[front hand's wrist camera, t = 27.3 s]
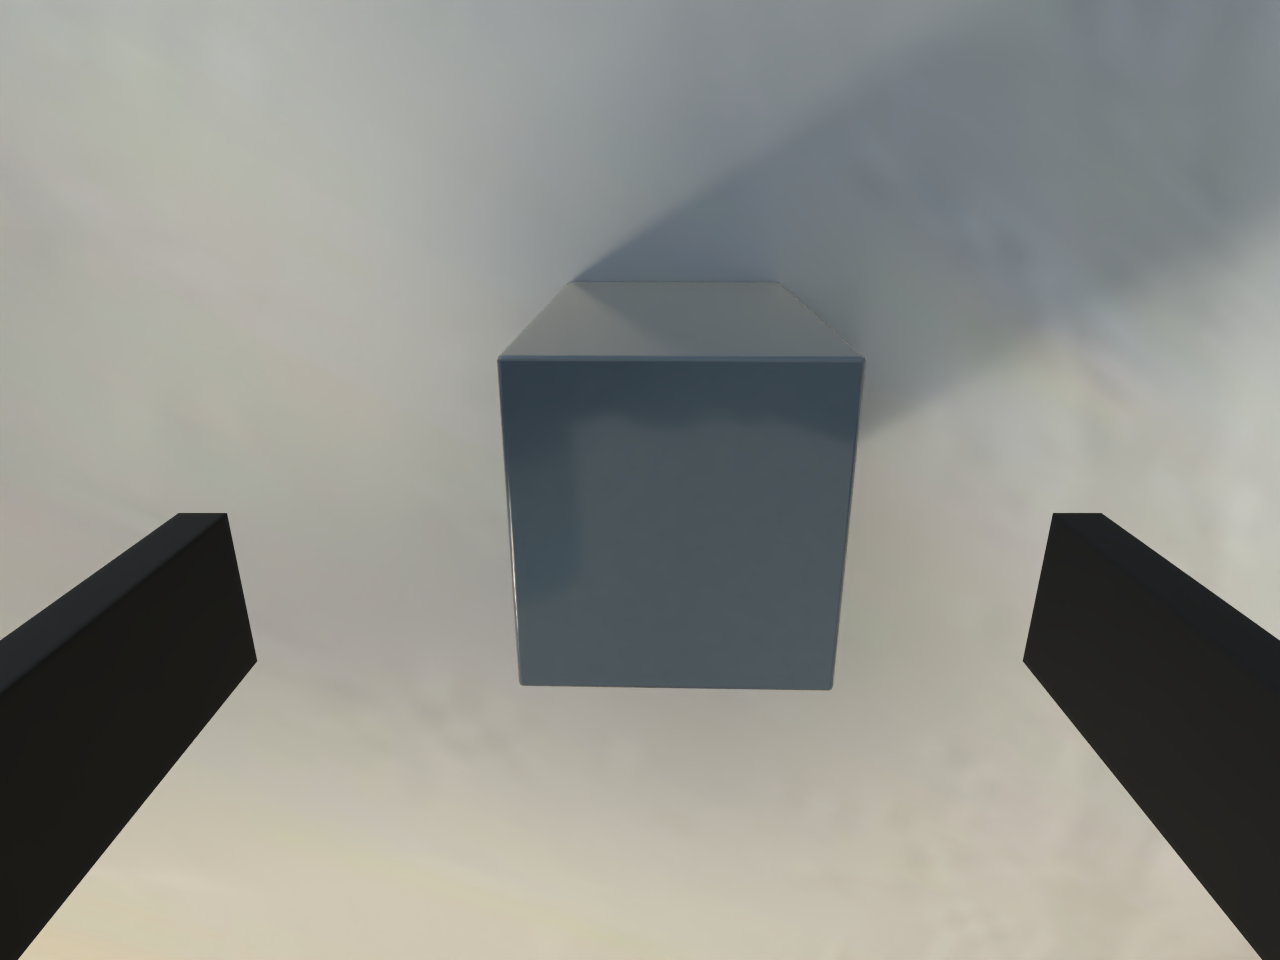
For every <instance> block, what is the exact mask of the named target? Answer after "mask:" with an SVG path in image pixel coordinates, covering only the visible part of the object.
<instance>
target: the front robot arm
mask: <svg viewBox="0 0 1280 960" xmlns="http://www.w3.org/2000/svg"><path fill="white" fill-rule="evenodd" d="M256 662H257V658H256V653H255V648H254V643H253V638H252V633H251V629H250V624H249V619H248V614H247V609H246V604H245V599H244V594H243V589H242V585H241V580H240V575H239V570H238V565H237V560H236V555H235V550H234V546H233V541H232V536H231V531H230V526H229V521H228V516H227V513H178V514H177V515H175V516H174V517H173V518H171V519H170V520H168V521H167V522H166V523H164V524H163V525H161V526H160V527H159V528H157V529H156V530H154V531H153V532H152V533H150V534H149V535H147V536H146V537H145V538H143V539H142V540H140V541H139V542H138V543H136V544H135V545H133V546H132V547H131V548H129V549H128V550H126V551H125V552H124V553H122V554H121V555H119V556H118V557H117V558H115V559H114V560H112V561H111V562H110V563H108V564H107V565H105V566H104V567H103V568H101V569H100V570H98V571H97V572H96V573H94V574H93V575H91V576H90V577H89V578H87V579H86V580H84V581H83V582H82V583H80V584H79V585H77V586H76V587H75V588H73V589H72V590H70V591H69V592H68V593H66V594H65V595H63V596H62V597H61V598H59V599H58V600H56V601H55V602H54V603H52V604H51V605H49V606H48V607H47V608H45V609H44V610H42V611H41V612H40V613H38V614H37V615H35V616H34V617H33V618H31V619H30V620H28V621H27V622H26V623H24V624H23V625H21V626H20V627H19V628H17V629H16V630H14V631H13V632H12V633H10V634H9V635H7V636H6V637H5V638H3V639H2V640H0V960H18V959H19V957H20V956H21V955H22V954H23V952H24V951H25V950H26V949H27V947H28V946H29V945H30V944H31V942H32V941H33V940H34V939H35V938H36V936H37V935H38V934H39V933H40V931H41V930H42V929H43V928H44V926H45V925H46V924H47V923H48V921H49V920H50V919H51V918H52V916H53V915H54V914H55V913H56V911H57V910H58V909H59V908H60V906H61V905H62V904H63V903H64V901H65V900H66V899H67V898H68V896H69V895H70V894H71V893H72V891H73V890H74V889H75V888H76V886H77V885H78V884H79V883H80V881H81V880H82V879H83V878H84V876H85V875H86V874H87V873H88V871H89V870H90V869H91V868H92V866H93V865H94V864H95V863H96V861H97V860H98V859H99V858H100V856H101V855H102V854H103V853H104V851H105V850H106V849H107V848H108V846H109V845H110V844H111V843H112V841H113V840H114V839H115V838H116V837H117V835H118V834H119V833H120V832H121V830H122V829H123V828H124V827H125V825H126V824H127V823H128V822H129V820H130V819H131V818H132V817H133V815H134V814H135V813H136V812H137V810H138V809H139V808H140V807H141V805H142V804H143V803H144V802H145V800H146V799H147V798H148V797H149V795H150V794H151V793H152V792H153V790H154V789H155V788H156V787H157V785H158V784H159V783H160V782H161V780H162V779H163V778H164V777H165V775H166V774H167V773H168V772H169V770H170V769H171V768H172V767H173V765H174V764H175V763H176V762H177V760H178V759H179V758H180V757H181V755H182V754H183V753H184V752H185V750H186V749H187V748H188V747H189V745H190V744H191V743H192V742H193V740H194V739H195V738H196V737H197V736H198V734H199V733H200V732H201V731H202V729H203V728H204V727H205V726H206V724H207V723H208V722H209V721H210V719H211V718H212V717H213V716H214V714H215V713H216V712H217V711H218V709H219V708H220V707H221V706H222V704H223V703H224V702H225V701H226V699H227V698H228V697H229V696H230V694H231V693H232V692H233V691H234V689H235V688H236V687H237V686H238V684H239V683H240V682H241V681H242V679H243V678H244V677H245V676H246V674H247V673H248V672H249V671H250V669H251V668H252V667H253V666H254V664H255V663H256ZM1023 662H1024V663H1025V664H1026V666H1027V667H1028V668H1029V669H1030V671H1031V672H1032V673H1033V674H1034V676H1035V677H1036V678H1037V679H1038V681H1039V682H1040V683H1041V684H1042V686H1043V687H1044V688H1045V689H1046V691H1047V692H1048V693H1049V694H1050V696H1051V697H1052V698H1053V699H1054V701H1055V702H1056V703H1057V704H1058V706H1059V707H1060V708H1061V709H1062V711H1063V712H1064V713H1065V714H1066V716H1067V717H1068V718H1069V719H1070V721H1071V722H1072V723H1073V724H1074V726H1075V727H1076V728H1077V729H1078V731H1079V732H1080V733H1081V734H1082V736H1083V737H1084V738H1085V739H1086V740H1087V742H1088V743H1089V744H1090V745H1091V747H1092V748H1093V749H1094V750H1095V752H1096V753H1097V754H1098V755H1099V757H1100V758H1101V759H1102V760H1103V762H1104V763H1105V764H1106V765H1107V767H1108V768H1109V769H1110V770H1111V772H1112V773H1113V774H1114V775H1115V777H1116V778H1117V779H1118V780H1119V782H1120V783H1121V784H1122V785H1123V787H1124V788H1125V789H1126V790H1127V792H1128V793H1129V794H1130V795H1131V797H1132V798H1133V799H1134V800H1135V802H1136V803H1137V804H1138V805H1139V807H1140V808H1141V809H1142V810H1143V812H1144V813H1145V814H1146V815H1147V817H1148V818H1149V819H1150V820H1151V822H1152V823H1153V824H1154V825H1155V827H1156V828H1157V829H1158V830H1159V832H1160V833H1161V834H1162V835H1163V837H1164V838H1165V839H1166V840H1167V841H1168V843H1169V844H1170V845H1171V846H1172V848H1173V849H1174V850H1175V851H1176V853H1177V854H1178V855H1179V856H1180V858H1181V859H1182V860H1183V861H1184V863H1185V864H1186V865H1187V866H1188V868H1189V869H1190V870H1191V871H1192V873H1193V874H1194V875H1195V876H1196V878H1197V879H1198V880H1199V881H1200V883H1201V884H1202V885H1203V886H1204V888H1205V889H1206V890H1207V891H1208V893H1209V894H1210V895H1211V896H1212V898H1213V899H1214V900H1215V901H1216V903H1217V904H1218V905H1219V906H1220V908H1221V909H1222V910H1223V911H1224V913H1225V914H1226V915H1227V916H1228V918H1229V919H1230V920H1231V921H1232V923H1233V924H1234V925H1235V926H1236V928H1237V929H1238V930H1239V931H1240V933H1241V934H1242V935H1243V936H1244V938H1245V939H1246V940H1247V941H1248V943H1249V944H1250V945H1251V946H1252V947H1253V949H1254V950H1255V951H1256V952H1257V954H1258V955H1259V956H1260V957H1261V959H1262V960H1280V640H1278V639H1277V638H1275V637H1274V636H1273V635H1271V634H1270V633H1268V632H1267V631H1266V630H1264V629H1263V628H1261V627H1260V626H1259V625H1257V624H1256V623H1254V622H1253V621H1252V620H1250V619H1249V618H1247V617H1246V616H1245V615H1243V614H1242V613H1240V612H1239V611H1238V610H1236V609H1235V608H1233V607H1232V606H1231V605H1229V604H1228V603H1226V602H1225V601H1224V600H1222V599H1221V598H1219V597H1218V596H1217V595H1215V594H1214V593H1212V592H1211V591H1210V590H1208V589H1207V588H1205V587H1204V586H1203V585H1201V584H1200V583H1198V582H1197V581H1196V580H1194V579H1193V578H1191V577H1190V576H1189V575H1187V574H1186V573H1184V572H1183V571H1182V570H1180V569H1179V568H1177V567H1176V566H1175V565H1173V564H1172V563H1170V562H1169V561H1168V560H1166V559H1165V558H1163V557H1162V556H1161V555H1159V554H1158V553H1156V552H1155V551H1154V550H1152V549H1151V548H1149V547H1148V546H1147V545H1145V544H1144V543H1142V542H1141V541H1140V540H1138V539H1137V538H1135V537H1134V536H1133V535H1131V534H1130V533H1128V532H1127V531H1126V530H1124V529H1123V528H1121V527H1120V526H1119V525H1117V524H1116V523H1114V522H1113V521H1112V520H1110V519H1109V518H1107V517H1106V516H1105V515H1103V514H1102V513H1053V516H1052V521H1051V526H1050V531H1049V536H1048V541H1047V546H1046V550H1045V555H1044V560H1043V565H1042V570H1041V575H1040V580H1039V585H1038V589H1037V594H1036V599H1035V604H1034V609H1033V614H1032V619H1031V624H1030V629H1029V633H1028V638H1027V643H1026V648H1025V653H1024V658H1023Z"/></svg>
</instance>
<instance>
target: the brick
mask: <svg viewBox="0 0 1280 960" xmlns="http://www.w3.org/2000/svg"><path fill="white" fill-rule="evenodd" d="M865 366H866V360H865V358H864V357H863V356H862V355H861V354H860V353H859V352H857V351H856V350H855V349H854V348H853V347H852V346H851V345H849V344H848V343H847V342H846V341H845V340H844V339H843V338H841V337H840V336H839V335H838V334H837V333H836V332H834V331H833V330H832V329H831V328H830V327H829V326H828V325H826V324H825V323H824V322H823V321H822V320H821V319H820V318H818V317H817V316H816V315H815V314H814V313H813V312H811V311H810V310H809V309H808V308H807V307H806V306H805V305H803V304H802V303H801V302H800V301H799V300H798V299H797V298H795V297H794V296H793V295H792V294H791V293H790V292H788V291H787V290H786V289H785V288H784V287H783V286H782V285H780V284H779V283H777V282H570V283H568V284H567V285H566V286H565V287H564V288H563V289H562V290H561V291H560V292H559V294H558V295H557V296H556V297H555V298H554V299H553V300H552V301H551V302H550V303H549V304H548V305H547V306H546V307H545V308H544V309H543V310H542V311H541V312H540V313H539V314H538V316H537V317H536V318H535V319H534V320H533V321H532V322H531V323H530V324H529V325H528V326H527V327H526V328H525V329H524V330H523V331H522V332H521V333H520V334H519V335H518V336H517V338H516V339H515V340H514V341H513V342H512V343H511V344H510V345H509V346H508V347H507V348H506V349H505V350H504V351H503V352H502V353H501V354H500V355H499V356H498V359H497V367H498V382H499V397H500V411H501V426H502V440H503V455H504V469H505V484H506V498H507V513H508V528H509V542H510V557H511V571H512V586H513V600H514V615H515V630H516V644H517V659H518V673H519V682H520V684H521V685H522V686H572V687H638V688H704V689H770V690H831V689H832V687H833V680H834V671H835V661H836V651H837V641H838V631H839V621H840V612H841V602H842V592H843V582H844V572H845V563H846V553H847V543H848V533H849V523H850V513H851V504H852V494H853V484H854V474H855V464H856V454H857V445H858V435H859V425H860V415H861V405H862V395H863V386H864V376H865Z"/></svg>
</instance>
